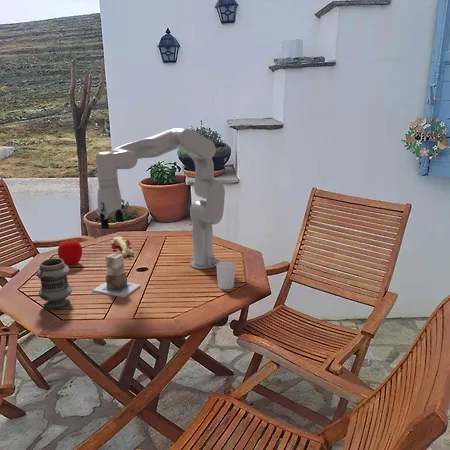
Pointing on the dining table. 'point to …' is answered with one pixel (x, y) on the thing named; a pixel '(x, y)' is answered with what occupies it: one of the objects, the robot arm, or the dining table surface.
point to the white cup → (225, 274)
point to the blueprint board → (121, 293)
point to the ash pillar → (115, 264)
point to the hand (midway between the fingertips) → (112, 224)
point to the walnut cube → (116, 281)
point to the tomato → (70, 252)
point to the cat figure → (122, 245)
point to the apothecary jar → (54, 283)
